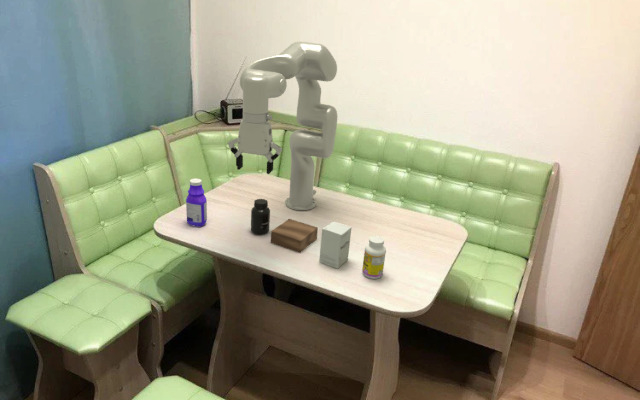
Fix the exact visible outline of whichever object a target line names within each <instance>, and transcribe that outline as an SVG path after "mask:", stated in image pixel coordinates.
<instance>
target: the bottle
mask: <svg viewBox="0 0 640 400" xmlns="http://www.w3.org/2000/svg"><path fill="white" fill-rule="evenodd" d="M204 193H205V189H204V188H203V182H202V179H200V178H191V179H190V180H189V189H188V190H187V194H188V195H187V196H186V199H185V202H186V203H185V205H186V206H185V207H186V222H187V224H188V225H190V226H192V227H203V226H204V225H206V223H207V222H208V219H207V218H208V212H207V211H208V206H207V205H208V204H207V201H208V200H207V197H206V196H205V194H204Z"/></svg>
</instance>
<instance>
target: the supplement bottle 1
mask: <svg viewBox="0 0 640 400" xmlns="http://www.w3.org/2000/svg"><path fill="white" fill-rule="evenodd" d="M268 203H269V201H268V199H265V198H257V199H254V201H253V207H252V208H251V210H250V233H252V234H254V235H257V236H263V235H266V234H268V233H269V232H270V224H271V209H270V208H269V204H268Z"/></svg>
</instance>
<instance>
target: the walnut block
mask: <svg viewBox="0 0 640 400" xmlns="http://www.w3.org/2000/svg"><path fill="white" fill-rule="evenodd" d="M317 239H318V227H317V226H313V225H310V224H307V223H304V222H301V221H298V220H295V219H292V218H288V219H287V220H285V221H284V222H282V223H281V224H280V225H278V226H276V227H275V228H274V229H272V230H271V231H270V243H271V244H273V245H275V246H278V247H279V246H280V247H282V248H284V249H288V250H290V251H294V252H297V253H300V254H301V253H302V252H303V251H304V250H305V249H307V248H308V247H309V246H311V244H313V243H314V242H315V241H317Z"/></svg>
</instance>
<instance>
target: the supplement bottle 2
mask: <svg viewBox="0 0 640 400" xmlns="http://www.w3.org/2000/svg"><path fill="white" fill-rule="evenodd" d="M384 244H385V239H384V238H383V237H381V236H378V235H371V236H370V237H369V239H368V243H367V244H366V245H365V246H364V253H363V255H364V256H363V263H362V270H361V272H362V273H361V274H363V276H364V277H366V278H368V279H372V280H375V279H377V280H378V279H379V278H381V277H382V276H383V274H384V273H383V272H384V266H385V261H386V260H385V259H386V252H387V248H386V247H385V245H384Z"/></svg>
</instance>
